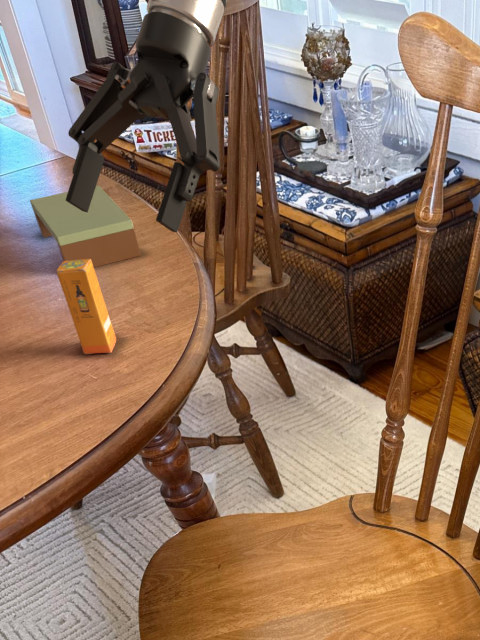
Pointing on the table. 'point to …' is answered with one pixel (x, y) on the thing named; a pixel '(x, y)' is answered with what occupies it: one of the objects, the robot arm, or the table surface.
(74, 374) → the table surface
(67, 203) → the shelf
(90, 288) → the supplement box
